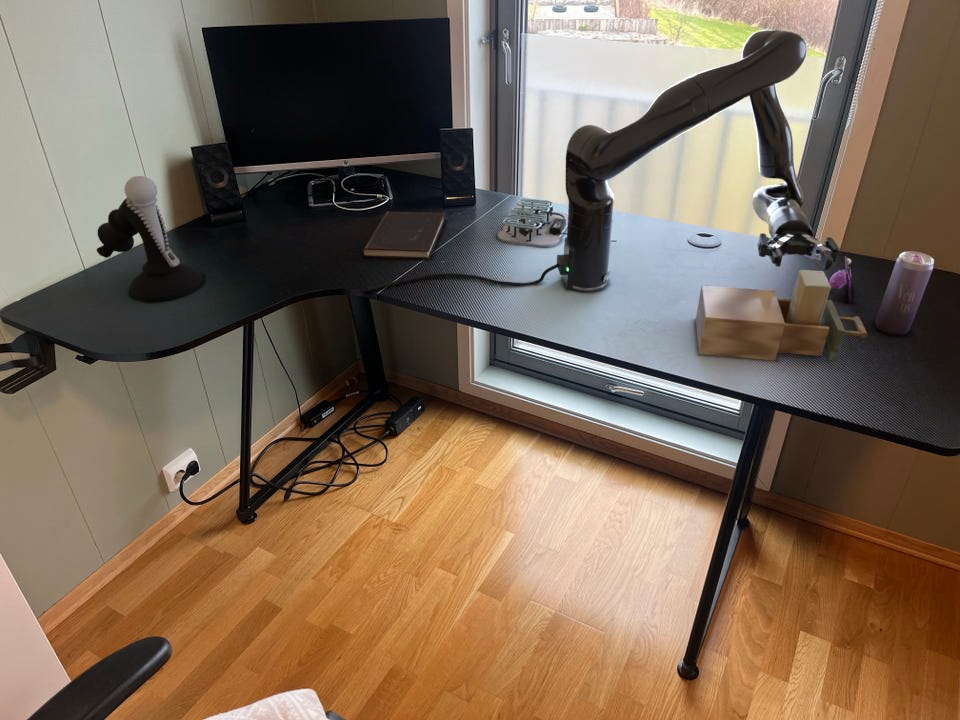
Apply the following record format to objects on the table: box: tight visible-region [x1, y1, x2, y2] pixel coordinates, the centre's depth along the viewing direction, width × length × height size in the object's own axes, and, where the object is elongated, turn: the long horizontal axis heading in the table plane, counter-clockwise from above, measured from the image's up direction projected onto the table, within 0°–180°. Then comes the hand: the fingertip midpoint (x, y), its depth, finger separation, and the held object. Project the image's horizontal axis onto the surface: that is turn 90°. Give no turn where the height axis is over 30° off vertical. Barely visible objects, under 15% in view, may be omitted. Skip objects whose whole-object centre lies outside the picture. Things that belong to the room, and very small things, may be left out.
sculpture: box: [96, 175, 204, 303], centre depth 151 cm, size 15×24×25 cm, turn 71°
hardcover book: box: [362, 210, 446, 260], centre depth 174 cm, size 16×23×2 cm
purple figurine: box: [828, 255, 852, 304], centre depth 146 cm, size 7×5×9 cm
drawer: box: [777, 297, 869, 361], centre depth 128 cm, size 17×11×6 cm, turn 79°
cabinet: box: [695, 284, 785, 362], centre depth 131 cm, size 13×12×8 cm
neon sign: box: [497, 198, 618, 248], centre depth 175 cm, size 21×4×29 cm
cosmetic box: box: [785, 269, 832, 326], centre depth 127 cm, size 6×4×12 cm
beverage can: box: [874, 250, 935, 336], centre depth 131 cm, size 6×6×15 cm
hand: (803, 263), depth 131 cm, fingers open, 8 cm apart
